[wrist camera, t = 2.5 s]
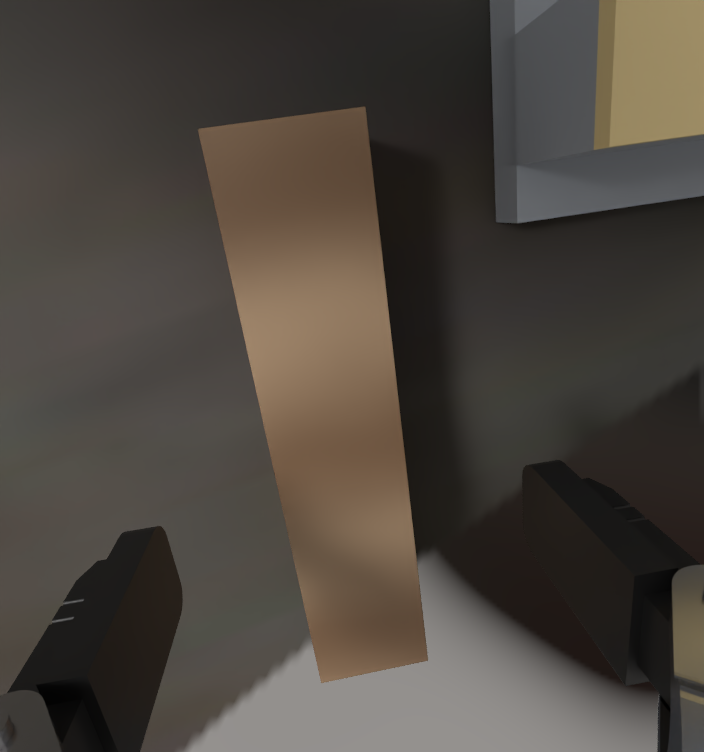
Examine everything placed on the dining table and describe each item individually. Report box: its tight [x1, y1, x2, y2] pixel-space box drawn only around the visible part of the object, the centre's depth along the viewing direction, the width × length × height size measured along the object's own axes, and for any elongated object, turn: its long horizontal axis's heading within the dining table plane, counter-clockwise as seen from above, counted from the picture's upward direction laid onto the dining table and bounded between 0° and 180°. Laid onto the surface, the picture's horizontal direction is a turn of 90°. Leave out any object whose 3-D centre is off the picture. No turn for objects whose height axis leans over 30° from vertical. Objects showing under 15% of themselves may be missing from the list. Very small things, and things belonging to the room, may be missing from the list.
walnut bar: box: [198, 106, 428, 683], centre depth 14 cm, size 16×4×4 cm, turn 8°
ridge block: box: [490, 0, 704, 223], centre depth 11 cm, size 6×8×6 cm
